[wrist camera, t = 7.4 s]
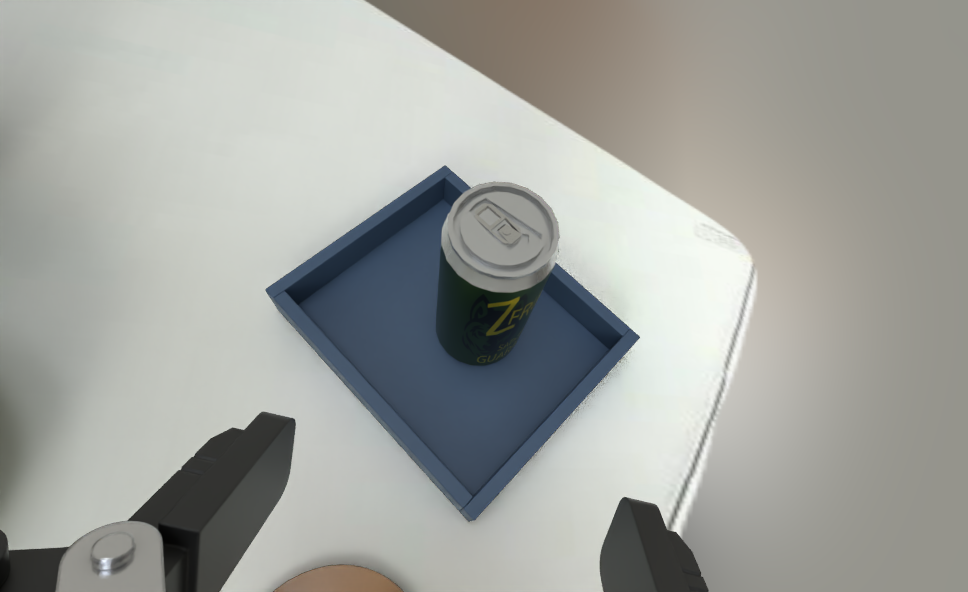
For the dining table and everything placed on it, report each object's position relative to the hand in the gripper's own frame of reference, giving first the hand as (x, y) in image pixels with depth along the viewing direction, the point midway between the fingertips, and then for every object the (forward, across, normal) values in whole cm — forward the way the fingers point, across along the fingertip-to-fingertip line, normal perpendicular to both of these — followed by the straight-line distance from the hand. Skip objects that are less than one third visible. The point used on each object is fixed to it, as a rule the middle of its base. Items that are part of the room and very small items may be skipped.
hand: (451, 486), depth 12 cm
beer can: (+20, 0, +4) cm, 20 cm away
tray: (+20, +1, +5) cm, 21 cm away
